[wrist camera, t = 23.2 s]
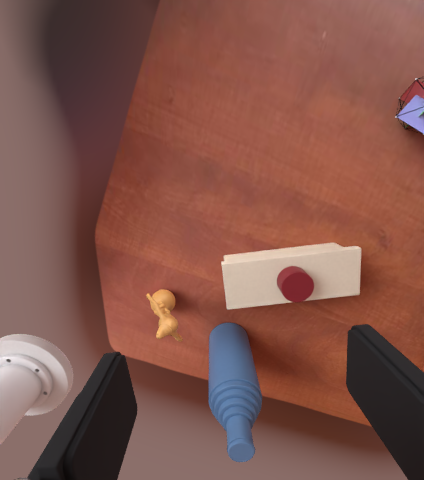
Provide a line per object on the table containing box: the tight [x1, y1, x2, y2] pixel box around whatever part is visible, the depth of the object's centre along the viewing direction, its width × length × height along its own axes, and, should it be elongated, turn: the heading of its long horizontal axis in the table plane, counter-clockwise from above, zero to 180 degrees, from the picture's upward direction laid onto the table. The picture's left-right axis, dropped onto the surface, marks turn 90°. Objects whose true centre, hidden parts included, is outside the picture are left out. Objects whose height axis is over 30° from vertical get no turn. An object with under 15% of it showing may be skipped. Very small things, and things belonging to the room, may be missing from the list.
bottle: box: [209, 323, 262, 462], centre depth 33 cm, size 7×7×18 cm
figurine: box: [146, 290, 183, 341], centre depth 34 cm, size 8×6×12 cm
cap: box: [277, 266, 314, 302], centre depth 31 cm, size 4×4×2 cm
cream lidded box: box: [221, 243, 361, 310], centre depth 35 cm, size 19×7×6 cm, turn 97°
